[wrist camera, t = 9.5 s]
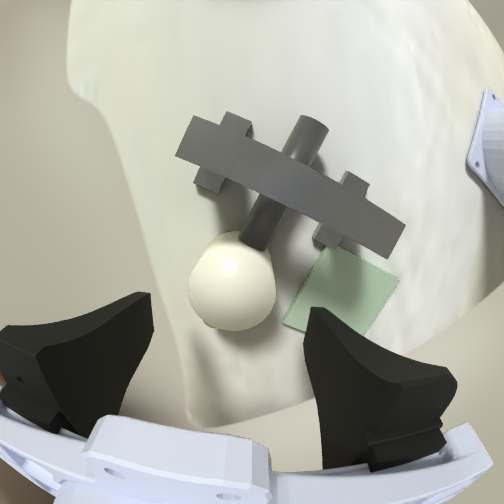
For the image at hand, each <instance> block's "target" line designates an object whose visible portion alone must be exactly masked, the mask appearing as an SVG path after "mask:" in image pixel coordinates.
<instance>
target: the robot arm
mask: <svg viewBox="0 0 504 504" xmlns="http://www.w3.org/2000/svg"><path fill="white" fill-rule="evenodd" d="M467 163H468V165H469V167H470V168H471V169H472V170H473V171H474V172H475V173H476V174H477V175H478V177H479V178H480V179H481V180H482V181H483V182H484V183H485V185H486V186H487V187H488V188H489V189H490V191H491V192H492V193H493V194H494V195H495V197H496V198H497V199H498V201H499V202H500V203H501V204H502V206H503V207H504V105H503V103H502V102H501V101H500V100H499V98H498V97H497V96H496V95H495V93H494V92H493V91H492V90H491V89H490V88H485V90H484V95H483V100H482V105H481V109H480V114H479V118H478V122H477V126H476V130H475V133H474V137H473V140H472V144H471V147H470V150H469V153H468V156H467ZM475 164H476V165H475ZM153 332H154V326H153V317H152V307H151V295H150V293H145V292H135V293H133V294H130V295H128V296H126V297H123V298H121V299H119V300H117V301H115V302H113V303H111V304H109V305H106V306H104V307H102V308H99V309H97V310H95V311H93V312H90V313H87V314H84V315H82V316H78V317H75V318H72V319H68V320H63V321H59V322H54V323H48V324H41V325H27V326H19V325H16V326H15V325H14V326H11V325H8V326H6V327H5V328H3V329H2V330H1V331H0V371H1V373H2V375H3V377H4V379H5V381H6V382H7V384H6V386H5V387H4V388H3V387H2V386H1V385H0V457H1V458H2V459H3V460H4V461H5V462H7V463H8V464H9V465H10V466H12V467H13V468H14V469H16V470H17V471H18V472H20V473H21V474H22V475H24V476H25V477H26V478H28V479H29V480H31V481H32V482H33V483H35V484H36V485H38V486H39V487H41V488H43V489H44V490H46V491H47V492H49V493H50V494H52V495H54V496H55V497H56V499H55V501H54V504H441V503H443V502H445V501H447V500H449V499H451V498H453V497H454V496H456V495H457V494H459V493H460V492H461V491H462V490H464V489H465V488H466V487H467V486H469V485H470V484H471V483H472V482H474V481H475V480H476V479H477V478H478V477H479V476H481V475H482V474H483V473H484V472H485V471H486V470H487V469H488V468H489V467H491V466H492V464H493V462H492V460H491V458H490V457H489V455H488V453H487V451H486V450H485V448H484V446H483V444H482V443H481V441H480V439H479V438H478V436H477V435H476V433H475V431H474V430H473V428H472V427H471V425H470V424H469V422H466V423H464V424H462V425H459V426H457V427H454V428H451V429H450V430H448V431H446V432H445V433H444V434H442V432H441V431H440V429H439V428H441V427H442V426H443V423H442V421H441V419H440V417H441V415H442V414H443V412H444V411H445V410H446V408H447V407H448V405H449V404H450V402H451V401H452V399H453V397H454V396H455V393H456V390H457V381H456V379H455V378H454V377H453V375H452V374H451V373H450V371H449V370H448V369H447V368H446V367H441V366H437V365H431V364H426V363H422V362H418V361H415V360H412V359H409V358H406V357H403V356H401V355H398V354H396V353H393V352H391V351H389V350H387V349H385V348H383V347H381V346H379V345H377V344H375V343H373V342H372V341H370V340H368V339H367V338H365V337H364V336H362V335H361V334H359V333H358V332H356V331H355V330H354V329H352V328H351V327H349V326H348V325H347V324H346V323H344V322H343V321H342V320H340V319H339V318H338V317H337V316H335V315H334V314H333V313H332V312H330V311H329V310H328V309H326V308H325V307H311V308H310V313H309V318H308V323H307V328H306V333H305V337H304V342H303V347H304V356H305V362H306V366H307V370H308V373H309V377H310V381H311V384H312V388H313V391H314V395H315V399H316V403H317V408H318V416H319V422H320V433H321V444H322V460H323V461H322V463H323V470H317V471H304V472H275V471H272V470H271V457H270V454H269V451H268V449H267V448H266V447H264V446H262V445H260V444H258V443H256V442H255V441H253V440H251V439H249V438H243V437H239V436H234V435H229V434H220V433H210V432H202V431H195V430H188V429H182V428H176V427H171V426H165V425H160V424H156V423H151V422H147V421H142V420H138V419H134V418H131V417H125V416H118V413H119V410H120V407H121V403H122V401H123V398H124V395H125V392H126V389H127V387H128V385H129V382H130V380H131V378H132V377H133V375H134V373H135V371H136V369H137V367H138V365H139V363H140V362H141V360H142V358H143V356H144V354H145V352H146V350H147V349H148V346H149V344H150V341H151V338H152V335H153Z"/></svg>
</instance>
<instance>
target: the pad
mask: <svg viewBox="0 0 504 504" xmlns="http://www.w3.org/2000/svg"><path fill="white" fill-rule="evenodd" d="M399 281H400V280H399V279H398V278H396V277H395V276H393V275H391V274H389V273H387V272H386V271H384V270H382V269H380V268H378V267H376V266H375V265H373V264H371V263H369V262H367V261H365V260H363V259H362V258H360V257H358V256H356V255H354V254H352V253H350V252H348V251H346V250H345V249H343V248H341V247H339V246H338V247H337V248H336V250H334V249H333V248H331V247H329V246H327V245H325V247H324V249H323V250H322V252H321V254H320V256H319V258H318V259H317V261H316V263H315V265H314V267H313V268H312V270H311V272H310V274H309V275H308V277H307V279H306V281H305V282H304V284H303V286H302V287H301V289H300V291H299V293H298V294H297V296H296V298H295V299H294V301H293V303H292V304H291V306H290V308H289V309H288V311H287V313H286V314H285V316H284V318H283V319H282V323H283V324H286V325H289V326H291V327H294V328H296V329H299V330H302V331H304V332H306V328H307V323H308V318H309V313H310V308H311V307H325V308H326V309H328V310H329V311H330V312H332V313H333V314H334V315H335V316H337V317H338V318H339V319H340V320H342V321H343V322H344V323H346V324H347V325H348V326H349V327H351V328H352V329H354V330H355V331H356V332H358V333H359V334H361V335H362V336H364V334H365V333H366V332H367V330H368V329H369V327H370V326H371V324H372V323H373V322H374V320H375V319H376V317H377V316H378V314H379V313H380V311H381V310H382V308H383V307H384V305H385V304H386V302H387V301H388V299H389V297H390V296H391V294H392V293H393V291H394V289H395V288H396V286H397V284H398V283H399Z"/></svg>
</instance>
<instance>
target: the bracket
mask: <svg viewBox="0 0 504 504" xmlns="http://www.w3.org/2000/svg"><path fill="white" fill-rule="evenodd" d="M251 124H252V122H251V121H249V120H247V119H244V118H242V117H240V116H237V115H235V114H232V113H230V112H226V113H225V115H224V117H223V119H222V121H221V123H220V125H218V124H215V123H213V122H210V121H208V120H205V119H202V118H200V117H197V116H193V118H192V120H191V122H190V124H189V126H188V128H187V130H186V132H185V135H184V137H183V139H182V141H181V143H180V146H179V148H178V150H177V152H176V155H175V156H176V157H179V158H181V159H184V160H186V161H189V162H191V163H193V164H196V165H198V166H200V168H199V170H198V173H197V175H196V177H195V180H194V182H193V183H194V184H197V185H199V186H201V187H204V188H206V189H208V190H210V191H213V192H215V193H217V194H218V193H219V191H220V189H221V187H222V185H223V183H224V180H225V178H228V179H230V180H232V181H235V182H237V183H239V184H241V185H243V186H246V187H248V188H250V189H252V190H254V191H256V192H259V193H261V194H263V195H265V196H267V197H269V198H271V199H273V200H275V201H277V202H280V203H282V204H284V205H286V206H288V207H290V208H292V209H294V210H296V211H298V212H300V213H302V214H304V215H306V216H308V217H310V218H312V219H314V220H316V221H318V222H319V224H318V226H317V228H316V230H315V232H314V234H313V236H312V237H313V238H314V239H315V240H317V241H319V242H321V243H323V244H325V245H327V246H329V247H331V248H333V249H334V250H336V248H337V247H338V245H339V243H340V241H341V239H342V237H343V236H346V237H348V238H350V239H352V240H353V241H355V242H357V243H359V244H361V245H362V246H364V247H366V248H368V249H370V250H371V251H373V252H375V253H377V254H378V255H380V256H382V257H384V258H385V259H387V260H388V258H389V256H390V254H391V252H392V251H393V249H394V247H395V245H396V243H397V241H398V239H399V237H400V236H401V234H402V232H403V230H404V228H405V226H406V225H405V224H404V223H402V222H401V221H399V220H398V219H396V218H395V217H393V216H392V215H390V214H389V213H387V212H386V211H384V210H383V209H381V208H379V207H378V206H376V205H375V204H373V203H371V202H370V201H368V200H367V199H365V198H363V197H364V195H365V193H366V191H367V189H368V187H369V185H370V184H369V183H367V182H365V181H364V180H362V179H361V178H359V177H357V176H356V175H354V174H352V173H351V172H349V171H345V173H344V175H343V177H342V179H341V181H340V183H338V182H336V181H334V180H333V179H331V178H329V177H327V176H325V175H323V174H322V173H320V172H318V171H316V170H314V169H312V168H310V167H309V166H307V165H305V164H303V163H301V162H299V161H297V160H295V159H293V158H291V157H289V156H287V155H285V154H283V153H281V152H279V151H277V150H275V149H272V148H270V147H268V146H266V145H264V144H262V143H260V142H257V141H255V140H253V139H251V138H248V137H246V134H247V132H248V130H249V128H250V126H251Z"/></svg>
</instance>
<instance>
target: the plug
mask: <svg viewBox="0 0 504 504" xmlns="http://www.w3.org/2000/svg"><path fill="white" fill-rule="evenodd" d="M328 131H329V129H328V128H327V127H326V126H325V125H324V124H322V123H321V122H319V121H317V120H315V119H313V118H311V117H308V116H304V115H301V116H300V118H299V120H298V121H297V123H296V125H295V127H294V129H293V131H292V133H291V135H290V136H289V138H288V140H287V142H286V144H285V146H284V148H283V150H282V152H281V153H283V154H285V155H287V156H289V157H291V158H293V159H295V160H297V161H299V162H301V163H303V164H305V165H307V166H309V167H310V166H311V164H312V162H313V160H314V158H315V156H316V155H317V153H318V151H319V149H320V147H321V145H322V143H323V141H324V139H325V137H326V135H327V133H328ZM288 208H289V207H288V206H286V205H284V204H282V203H280V202H277V201H275V200H273V199H271V198H269V197H267V196H265V195H263V194H261V193H260V194H259V196H258V198H257V200H256V202H255V204H254V206H253V208H252V210H251V212H250V214H249V216H248V218H247V220H246V222H245V224H244V226H243V228H242V230H241V231H230V232H226V233H223V234H221V235H219V236H217V237H216V238H214V239H213V240H212V241H211V242H210V243H209V245H208V246H207V248H206V249H205V251H204V253H203V255H202V256H201V258H200V260H199V261H198V263H197V265H196V266H195V268H194V270H193V272H192V274H191V276H190V279H189V283H188V296H189V301H190V303H191V306H192V307H193V309H194V311H195V312H196V313H197V315H198V316H199V317H200V318H201V319H202V320H203V321H204V323H205V324H206V325H207V326H209V327H211V328H218V329H222V330H227V331H241V330H246V329H249V328H252V327H254V326H256V325H258V324H259V323H261V322H262V321H263V320H264V319H265V318H266V317H267V316H268V315H269V313H270V312H271V310H272V308H273V306H274V303H275V299H276V286H275V280H274V274H273V267H272V261H271V257H270V253H269V251H268V249H267V247H268V245H269V243H270V242H271V240H272V238H273V236H274V234H275V232H276V230H277V228H278V227H279V225H280V223H281V221H282V219H283V217H284V215H285V213H286V212H287V210H288Z"/></svg>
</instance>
